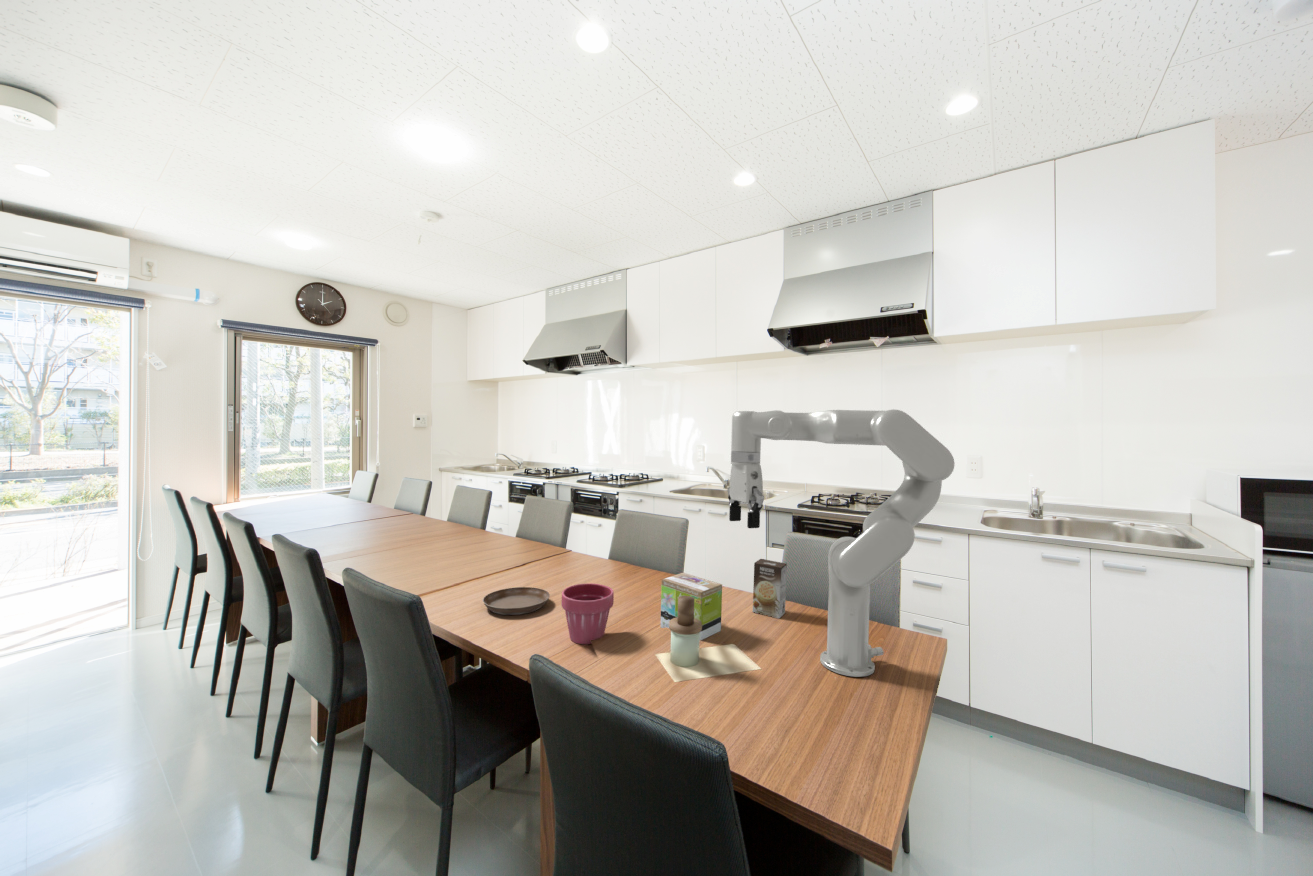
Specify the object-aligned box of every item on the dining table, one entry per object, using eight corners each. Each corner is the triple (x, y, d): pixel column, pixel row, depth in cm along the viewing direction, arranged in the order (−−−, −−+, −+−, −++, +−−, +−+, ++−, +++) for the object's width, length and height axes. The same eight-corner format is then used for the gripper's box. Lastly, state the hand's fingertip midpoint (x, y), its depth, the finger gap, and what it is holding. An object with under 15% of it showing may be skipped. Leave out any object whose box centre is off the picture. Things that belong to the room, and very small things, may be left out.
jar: (692, 652, 123) (693, 620, 123) (704, 665, 116) (705, 632, 116) (665, 655, 120) (666, 623, 120) (676, 669, 113) (676, 635, 113)
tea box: (659, 629, 139) (660, 578, 139) (681, 619, 147) (682, 571, 147) (700, 645, 129) (701, 590, 129) (722, 634, 137) (723, 582, 136)
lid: (694, 620, 123) (694, 591, 123) (707, 632, 115) (708, 602, 115) (664, 623, 120) (665, 594, 120) (675, 636, 113) (676, 605, 113)
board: (733, 648, 128) (733, 643, 128) (761, 673, 115) (761, 668, 115) (654, 659, 121) (654, 654, 121) (674, 687, 108) (674, 682, 108)
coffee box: (751, 612, 154) (752, 562, 154) (758, 606, 159) (759, 558, 159) (779, 619, 149) (781, 567, 149) (786, 612, 154) (787, 562, 154)
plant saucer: (479, 599, 160) (480, 590, 160) (542, 592, 169) (542, 583, 169) (485, 623, 142) (485, 611, 141) (555, 613, 150) (556, 603, 150)
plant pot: (603, 652, 124) (604, 602, 124) (552, 645, 127) (553, 597, 127) (618, 630, 138) (619, 585, 138) (572, 624, 141) (573, 581, 141)
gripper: (776, 460, 119) (774, 530, 119) (742, 456, 135) (740, 518, 135) (749, 460, 116) (747, 531, 117) (717, 456, 133) (716, 518, 133)
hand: (743, 524), depth 126 cm, fingers open, 9 cm apart
